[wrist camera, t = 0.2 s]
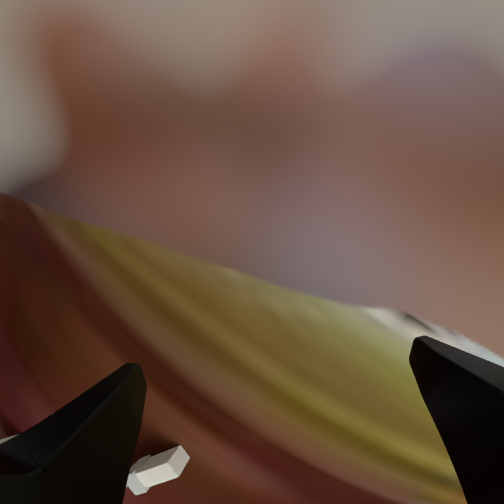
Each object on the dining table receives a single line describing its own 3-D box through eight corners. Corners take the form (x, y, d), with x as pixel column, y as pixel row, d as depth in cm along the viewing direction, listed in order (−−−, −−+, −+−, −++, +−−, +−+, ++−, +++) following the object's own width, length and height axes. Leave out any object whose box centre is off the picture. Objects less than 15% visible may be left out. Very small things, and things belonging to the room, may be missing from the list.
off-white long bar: (191, 459, 20) (178, 482, 16) (53, 498, 17) (33, 510, 13) (178, 442, 21) (163, 462, 16) (44, 485, 18) (23, 496, 14)
